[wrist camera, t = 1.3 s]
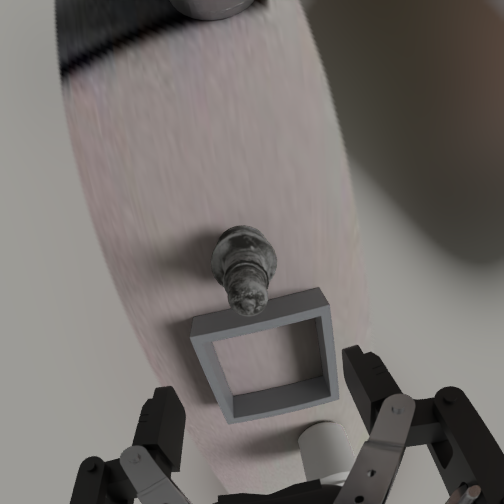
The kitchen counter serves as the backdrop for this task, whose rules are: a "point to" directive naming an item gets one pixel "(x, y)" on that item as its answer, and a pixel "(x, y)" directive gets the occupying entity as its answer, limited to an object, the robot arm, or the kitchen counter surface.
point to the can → (326, 453)
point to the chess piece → (244, 268)
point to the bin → (271, 317)
